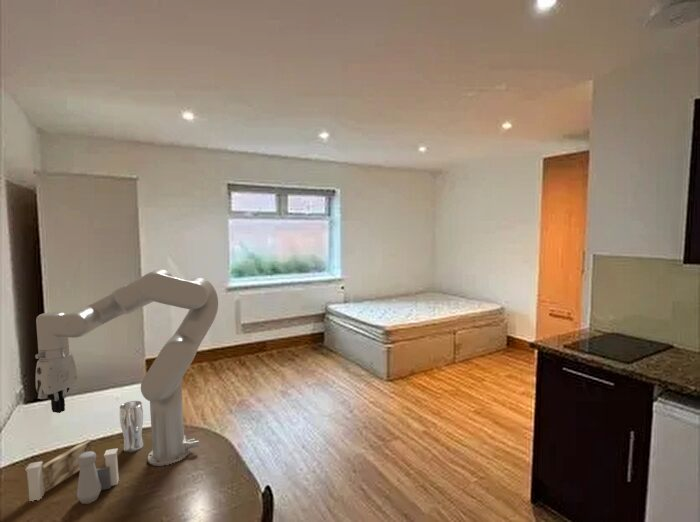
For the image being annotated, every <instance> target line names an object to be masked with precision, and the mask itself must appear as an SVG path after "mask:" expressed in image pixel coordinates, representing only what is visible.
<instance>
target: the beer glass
mask: <svg viewBox="0 0 700 522" xmlns="http://www.w3.org/2000/svg"><path fill="white" fill-rule="evenodd" d="M119 424H120V428H121V431H122V435H123V440H124V442H123V443H124V444H123V452H127V453H133V452H136V451H139V450H141V449H142V448H143V447H144V440H143V437H142V436H143V435H142V434H143V433H142V432H143V424H144V410H143V402H142V401H141V400H131V401H127V402H124V403H122V404H121V405H120V406H119Z"/></svg>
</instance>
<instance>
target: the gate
mask: <svg viewBox="0 0 700 522" xmlns="http://www.w3.org/2000/svg"><path fill="white" fill-rule="evenodd" d="M92 445H93V440H92V439H86V440H84V441H82V442H81V443H79V444H77V445H75V446H73V447H72V448H70V449H68V450H67V451H64V452H63V453H61V454H60V455H57V456H56V457H54V458H53V459H51V460H49V461H47V462H45V463H43V464H42V477H43V488H44V492H46V491H48V490H50V489H52V488H53V487H55V486H56V485H58V484H60V483H61V482H63V481H64V480H66V479H67V478H69V477H71V476H73V475H74V474H76V473H77V472H78V471H79V472H80V466H79V465H78V462H77V460H78V457H79V456H80V455H81V454H83V453H85V452H89V451H92Z"/></svg>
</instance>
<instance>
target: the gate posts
mask: <svg viewBox="0 0 700 522" xmlns="http://www.w3.org/2000/svg"><path fill="white" fill-rule="evenodd" d="M118 451H119V448H111V449H106V450H105V452H104V454H103V458H105V467H99V468H96V470H97V473H98V476H99V480H100V483H101V491H104V490H108V489H111V487H113V486H117V485H118V483H119V480H120V478H119V462H118V461H119V460H118ZM42 465H44V463H43V460H41V461H36V462H35V461H34V462H30V463H29V464H28V465H27V466H26V467H25V472H26V474H27V487H28V496H29V502H30V501H32V502H35V501H34V500H37V501H41V500H42V499H43V497H44V495H45V491H44V488H43V477H42ZM42 496H43V497H42ZM40 499H41V500H40Z"/></svg>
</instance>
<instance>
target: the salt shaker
mask: <svg viewBox="0 0 700 522" xmlns="http://www.w3.org/2000/svg"><path fill="white" fill-rule="evenodd" d="M96 460H97V454H96V452H94V451H92V450H91V451H89V452H85V453H83V454H81V455H80V456H79V457H78V460H77V462H78V465H79V466H80V470H79V475H78V483H77V491H76V498H77V499H78V500H79V501H80V502H81V504H84V505H85V504H86V505H87V504H89V505H90V504H91V503H93V502H95V501H98V500H97V499H98V497H99V495H100V494H101V491H102V490H101V483H100V480H99V476H98V473H97V470H96V469H97V467H96V463H95V462H96Z"/></svg>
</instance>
